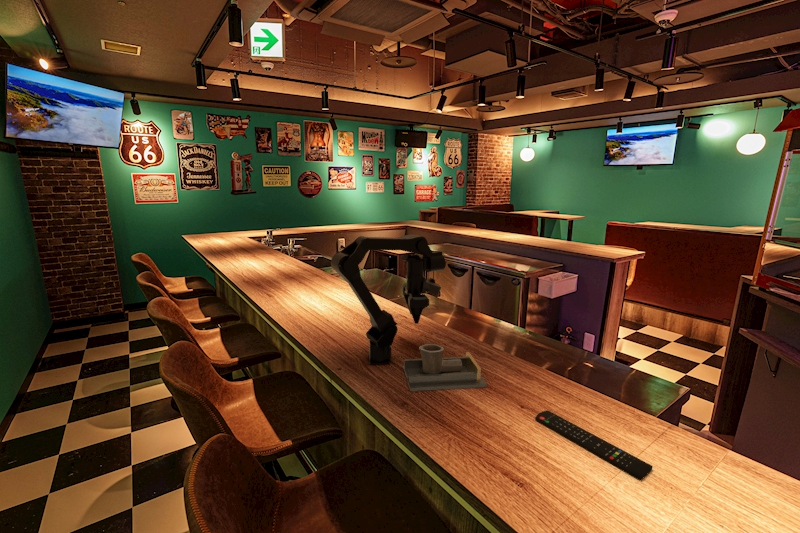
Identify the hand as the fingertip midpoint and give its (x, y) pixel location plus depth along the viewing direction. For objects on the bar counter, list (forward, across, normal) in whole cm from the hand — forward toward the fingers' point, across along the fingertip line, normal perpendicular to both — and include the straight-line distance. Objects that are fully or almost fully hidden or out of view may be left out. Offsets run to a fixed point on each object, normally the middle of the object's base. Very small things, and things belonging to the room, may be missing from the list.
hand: (414, 318), depth 125 cm
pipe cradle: (+12, -18, -6) cm, 22 cm away
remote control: (+13, -50, -31) cm, 60 cm away
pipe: (+11, -17, -5) cm, 21 cm away
